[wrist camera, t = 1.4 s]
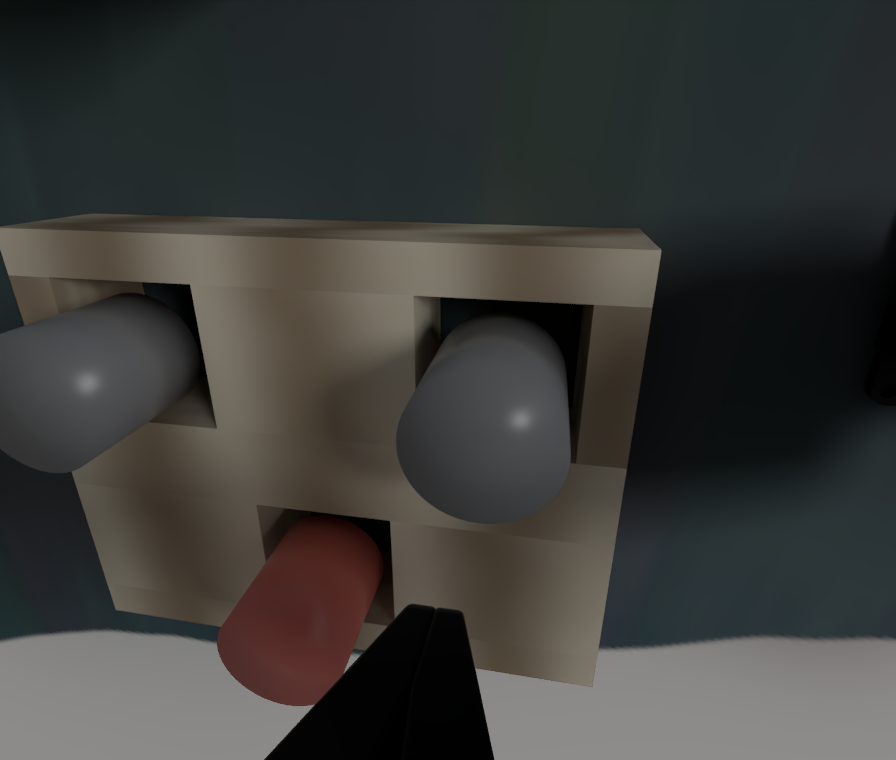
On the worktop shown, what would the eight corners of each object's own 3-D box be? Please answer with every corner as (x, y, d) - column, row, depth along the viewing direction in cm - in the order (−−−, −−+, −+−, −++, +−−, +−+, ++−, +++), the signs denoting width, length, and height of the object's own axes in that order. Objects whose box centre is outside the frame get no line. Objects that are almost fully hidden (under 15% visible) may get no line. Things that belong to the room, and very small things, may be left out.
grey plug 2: (572, 316, 15) (579, 378, 11) (560, 439, 17) (562, 533, 13) (434, 309, 16) (392, 364, 12) (435, 428, 18) (398, 513, 13)
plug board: (639, 228, 17) (661, 250, 14) (586, 604, 24) (592, 687, 20) (91, 213, 21) (-7, 227, 17) (174, 547, 27) (115, 609, 23)
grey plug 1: (188, 295, 17) (75, 341, 13) (209, 408, 19) (114, 480, 15) (78, 289, 18) (-62, 331, 14) (108, 399, 19) (-10, 465, 15)
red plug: (380, 521, 19) (335, 621, 15) (385, 605, 21) (345, 715, 17) (277, 509, 20) (206, 601, 16) (289, 591, 22) (228, 694, 18)
